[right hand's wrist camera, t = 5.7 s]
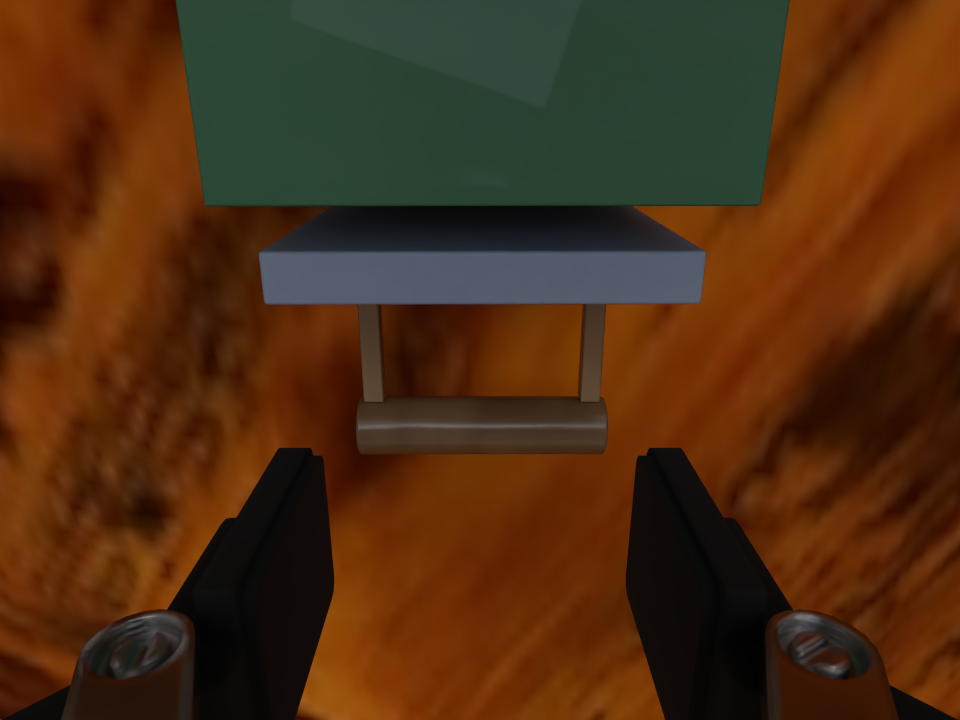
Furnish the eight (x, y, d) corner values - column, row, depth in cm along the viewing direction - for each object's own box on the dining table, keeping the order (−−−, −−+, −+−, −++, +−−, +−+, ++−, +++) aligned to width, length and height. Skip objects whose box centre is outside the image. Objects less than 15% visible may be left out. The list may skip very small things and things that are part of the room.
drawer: (606, 390, 26) (673, 538, 17) (356, 390, 26) (290, 538, 17) (655, -319, 18) (823, -731, 9) (306, -319, 18) (141, -729, 9)
